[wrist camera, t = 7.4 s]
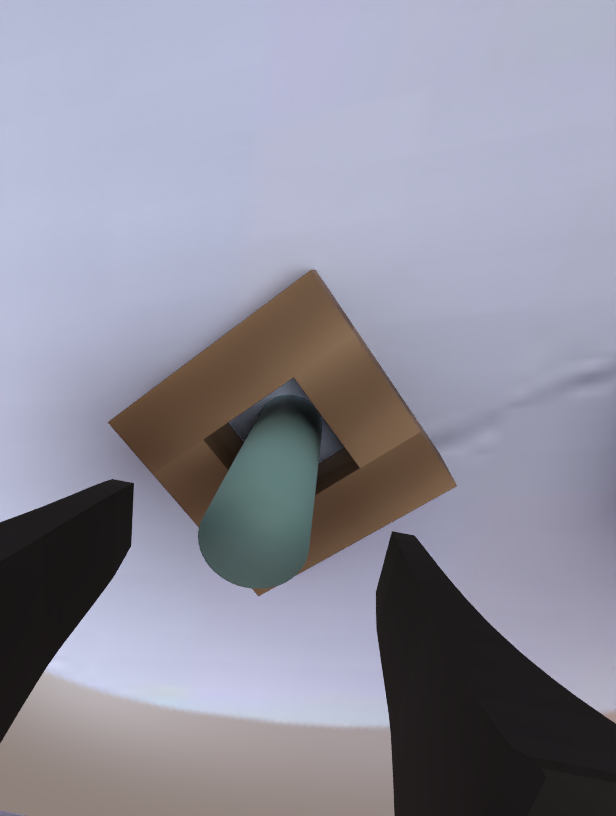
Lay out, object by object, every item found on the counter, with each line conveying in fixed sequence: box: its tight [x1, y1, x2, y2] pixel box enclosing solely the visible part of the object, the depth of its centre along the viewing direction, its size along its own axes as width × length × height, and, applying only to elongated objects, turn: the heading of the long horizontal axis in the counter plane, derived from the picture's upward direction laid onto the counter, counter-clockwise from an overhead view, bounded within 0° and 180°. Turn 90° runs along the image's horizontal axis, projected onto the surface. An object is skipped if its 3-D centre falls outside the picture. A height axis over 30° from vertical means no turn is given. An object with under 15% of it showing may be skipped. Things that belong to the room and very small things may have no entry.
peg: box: [198, 395, 322, 589], centre depth 16 cm, size 3×3×9 cm
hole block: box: [108, 270, 457, 596], centre depth 19 cm, size 10×10×3 cm
